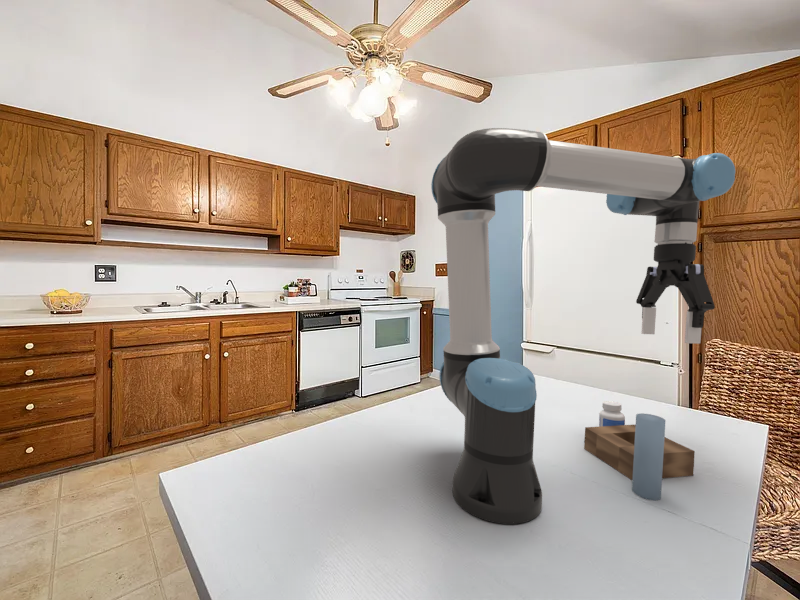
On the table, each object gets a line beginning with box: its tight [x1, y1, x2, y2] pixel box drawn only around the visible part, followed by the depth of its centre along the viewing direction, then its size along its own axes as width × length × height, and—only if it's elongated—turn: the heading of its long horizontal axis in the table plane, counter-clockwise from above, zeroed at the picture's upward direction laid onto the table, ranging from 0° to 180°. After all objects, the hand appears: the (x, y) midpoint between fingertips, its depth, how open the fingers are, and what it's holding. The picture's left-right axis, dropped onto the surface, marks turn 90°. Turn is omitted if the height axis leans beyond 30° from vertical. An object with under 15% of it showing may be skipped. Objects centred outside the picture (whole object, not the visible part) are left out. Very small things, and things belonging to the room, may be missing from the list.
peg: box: [631, 413, 666, 501], centre depth 67 cm, size 4×4×14 cm
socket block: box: [583, 423, 696, 481], centre depth 80 cm, size 14×14×5 cm
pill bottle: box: [598, 400, 626, 427], centre depth 89 cm, size 6×5×10 cm
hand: (668, 338), depth 84 cm, fingers open, 13 cm apart
